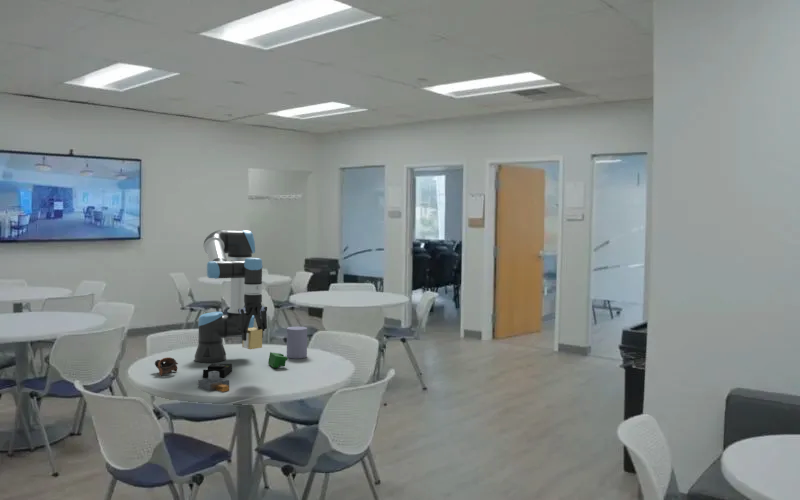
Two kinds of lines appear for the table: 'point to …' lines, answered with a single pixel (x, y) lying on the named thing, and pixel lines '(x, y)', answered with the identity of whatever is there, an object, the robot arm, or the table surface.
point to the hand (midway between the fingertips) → (252, 346)
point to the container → (296, 342)
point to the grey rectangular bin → (214, 382)
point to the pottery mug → (166, 365)
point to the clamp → (277, 360)
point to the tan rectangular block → (254, 338)
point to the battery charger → (221, 368)
